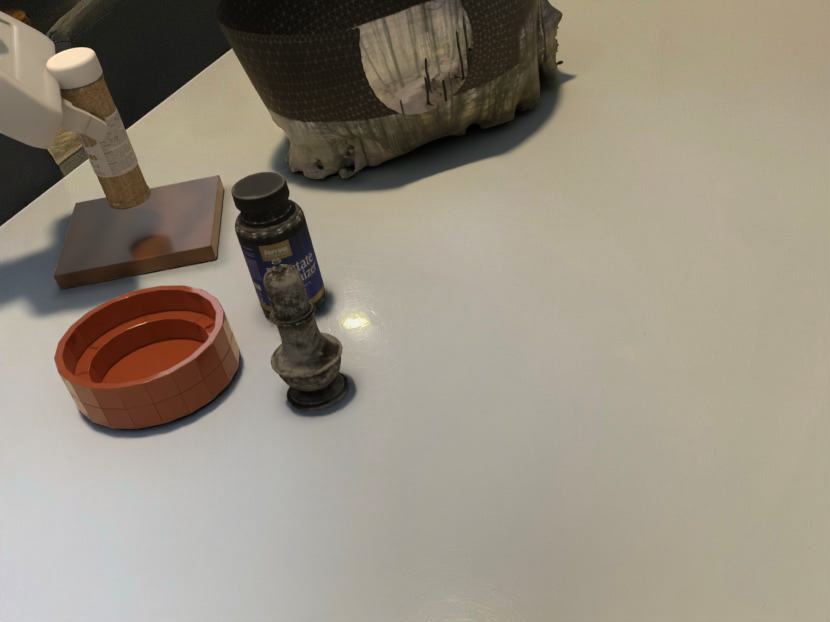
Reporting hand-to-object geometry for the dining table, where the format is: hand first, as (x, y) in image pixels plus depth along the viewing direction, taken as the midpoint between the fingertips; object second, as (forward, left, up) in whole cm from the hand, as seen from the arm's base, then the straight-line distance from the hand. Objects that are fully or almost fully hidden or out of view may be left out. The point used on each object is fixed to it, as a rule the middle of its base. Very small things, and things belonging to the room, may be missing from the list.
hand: (103, 121), depth 92 cm
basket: (+29, +14, -12) cm, 34 cm away
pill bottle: (+15, -18, -12) cm, 26 cm away
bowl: (+3, -26, -11) cm, 29 cm away
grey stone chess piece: (+17, -32, -12) cm, 38 cm away
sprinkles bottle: (-1, 0, -8) cm, 8 cm away
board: (-1, 0, -11) cm, 11 cm away
